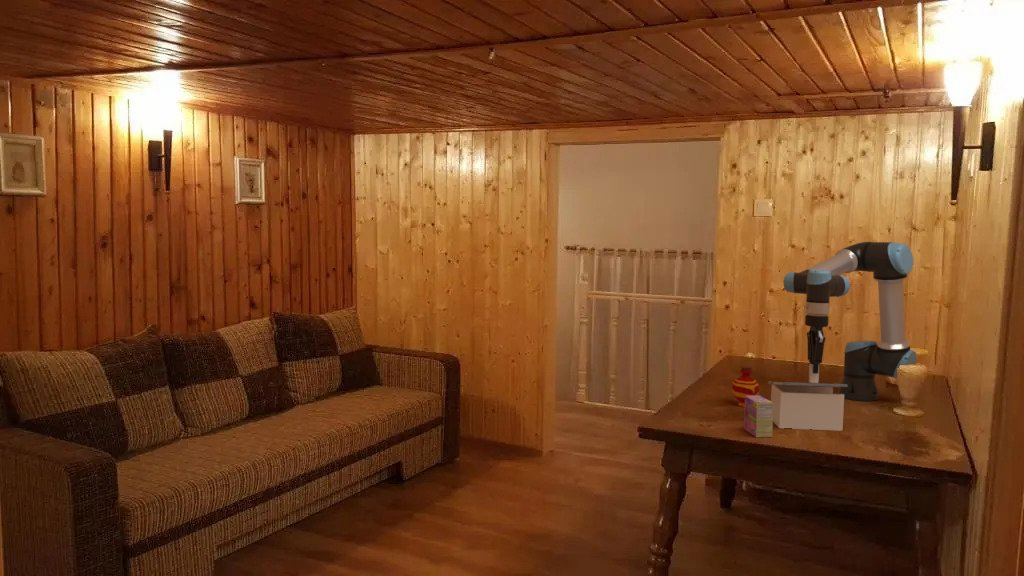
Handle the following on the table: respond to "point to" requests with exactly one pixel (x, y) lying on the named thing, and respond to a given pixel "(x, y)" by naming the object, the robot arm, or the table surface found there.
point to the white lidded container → (807, 407)
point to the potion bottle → (745, 385)
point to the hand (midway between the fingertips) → (813, 382)
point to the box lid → (810, 384)
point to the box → (758, 416)
